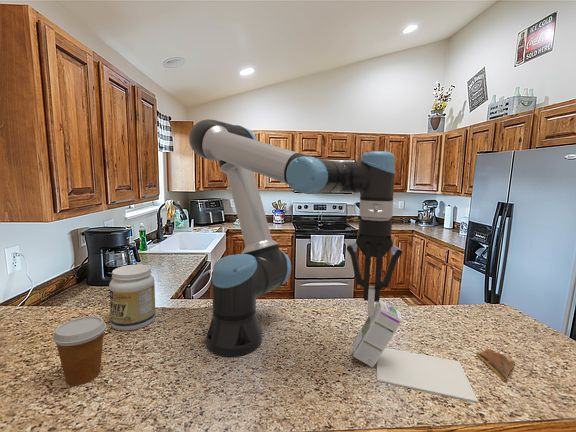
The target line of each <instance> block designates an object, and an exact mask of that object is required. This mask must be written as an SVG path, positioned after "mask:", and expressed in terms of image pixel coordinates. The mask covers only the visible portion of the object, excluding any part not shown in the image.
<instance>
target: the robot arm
mask: <svg viewBox="0 0 576 432" xmlns="http://www.w3.org/2000/svg"><path fill="white" fill-rule="evenodd" d="M188 141H189V145H190V147H191V149H192V151H193V153H195V154H196V155H197V156H198V157H200V158H203V159H206V160H209V161H213V162H218V166H219V169H220V171H221V172H222V173H223V174H225V175H226V177H227V178H226V179H227V181H228V184H229V189H230V192H231V193H230V194H231V197H232V200H233V204H234V208H235V211H236V216H237V219H238V222H239V227H240V230H241V234H242V239H243V243H244V245H245V246H244V249H243V250H242V252H241V253H237V254H229V255H225V256H224V257H221V258H219V259H218V260H216V262H215V263H214V265H213V268H212V277H211V283H212V317H211V321H210V323H209V326H208V330H207V333H206V336H205V337H206V339H205V341H206V342H205V343H206V348H207V349H208V351H210V352H211V353H213V354H215V355H216V356H221V357H229V358H230V357H231V358H232V357H240V356H244V355H247V354H250V353H252V352H253V351H255V350H257V349H258V348H259V346H260V345H261V344H262V341H263V339H262V338H263V337H262V336H263V335H262V334H263V333H262V328H261V325H260V322H259V319H258V315H257V311H256V310H257V309H256V308H257V298H259V297H262V296H263V295H265V294H267V293H269V292H271V291H273V290H278V289H279V288H280V287H281V286H282V285H284V284H286V283H287V282H288V280H289V278H290V276H291V274H292V262H291V259H290V257H289V255H288V254H287V253H285V251H283V250H281V249H280V245H279V242H277V241H275V240H273V238H272V235H271V231H270V228H269V223H268V220H267V215H266V212H265V209H264V205H263V200H262V198H261V193H260V191H259V186H258V182H257V180H256V179H257V178H256V176H255V173H256V174H259V175H262V176H264V177H267V178H270V179H272V180H275V181H277V182H280V183H283V184H286V185H289V187H290V188H291V189H292V190H293V191H294V192H297V193H301V194H306V195H311V194H312V195H313V194H319V193H320V194H321V193H322V194H323V193H355V194H356V193H357V194H358V193H359V212H358V213H359V214H358V215H359V216H360V219H358V231H357V232H358V235H357V237H356V240H355V242H353V243H349V244H348V245H347V247H346V251H348V253H349V255H350V259H351V264H352V269H353V273H354V279H355V283H356V285H358V286H361V287H362V288H363V296H362V300H363V301H367V311H366V312H367V313H366V314H367V316H369V315H371V316H374V307H375V302H376V303H377V302H379V300H380V296H381V290H382V289H387V288H389V285H390V282H391V279H392V276H393V273H394V271H395V267H396V264H397V261H398V259H399V258H400V257H401V255H403V250H402V248H400V247H398V246H396V245H395V244H394V242H393V241H394V240H392V228H393V221H392V219H391V218H393V208H394V190H395V177H396V156H395V155H394V153H392V152H391V151H381V150H380V151H379V150H378V151H377V150H376V151H375V150H374V151H367V152H363V153H362V155H361V159H360V161H359V160H358V161H335V160H328V159H323V158H318V157H314V156H311V155H308V154H304V153H300V152H297V151H293V150H290V149H286V148H283V147H281V146H277V145H273V144H270V143H266V142H263V141H259V140H258V139H257V137H256V135H255V133H254V132H253V131H251V130H250V129H249V128H246V127H244V126H242V125H238V124H231V123H226V122H223V121H220V120H216V119H209V118H208V119H202V120H200V121H198V122H196V123H195V124H193V126H192V127H191V129H190V131H189V135H188ZM358 248H359V250H360V251H361V253H362V254H363V255H364V274H363V275H364V276H363V278H362V273H361V269H360V263H359V259H358V254H357V251H358ZM390 250H391V251H390ZM389 251H390V255H391V256H390V257H389V258H390V259H389V262H388V265H387V267H386V269H385V270H386V271H385V274H384V277H383V280H382V281H381V279H382V277H381V276H382V275H381V274H382V259H383V257H384V256H385V255H386V254H387V253H389ZM371 258H375V276H374V277H375V279H374V285H370V277H371V276H370V275H371V274H370V273H371Z"/></svg>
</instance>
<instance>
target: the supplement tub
mask: <svg viewBox="0 0 576 432" xmlns="http://www.w3.org/2000/svg"><path fill="white" fill-rule="evenodd" d="M111 274H112V275H111V278H112V279H111V280H110V282H109V283H108V285H109V286H108V289H109V291H108V292H109V310H110V311H109V312H110V314H109V315H110V325H111V326H112V328H113V329H115V330H119V331H126V332H127V331H134V330H139V329H142V328H145V327H147V326H149V325H150V324H151V323H153V321H154V320H155V318H156V293H155V292H156V289H155V287H156V286H155V278H154V276H153V275H152V274H153V273H152V266H150V265H147V264H129V265H122V266H119V267H117V268H115V269H113V270H112V272H111Z"/></svg>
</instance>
